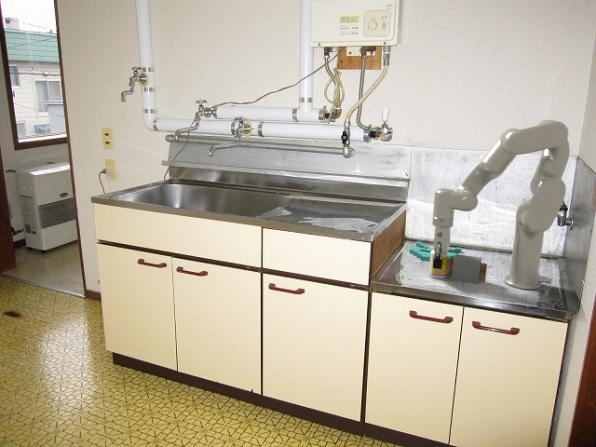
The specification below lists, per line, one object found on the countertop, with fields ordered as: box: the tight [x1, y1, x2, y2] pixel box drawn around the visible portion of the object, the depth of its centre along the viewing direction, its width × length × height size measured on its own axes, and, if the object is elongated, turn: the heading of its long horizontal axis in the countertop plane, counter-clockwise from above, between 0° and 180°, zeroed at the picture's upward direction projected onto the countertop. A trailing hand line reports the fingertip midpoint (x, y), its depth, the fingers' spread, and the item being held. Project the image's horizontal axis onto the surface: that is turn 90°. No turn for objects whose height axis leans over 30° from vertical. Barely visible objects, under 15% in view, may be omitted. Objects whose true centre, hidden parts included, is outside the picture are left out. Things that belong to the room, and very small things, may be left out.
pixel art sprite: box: [408, 241, 462, 262], centre depth 214 cm, size 20×2×20 cm
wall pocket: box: [451, 253, 483, 285], centre depth 184 cm, size 10×5×9 cm, turn 65°
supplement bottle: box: [428, 250, 448, 279], centre depth 187 cm, size 7×7×13 cm
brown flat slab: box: [445, 258, 488, 283], centre depth 184 cm, size 14×1×7 cm, turn 65°
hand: (439, 264), depth 188 cm, fingers open, 9 cm apart
